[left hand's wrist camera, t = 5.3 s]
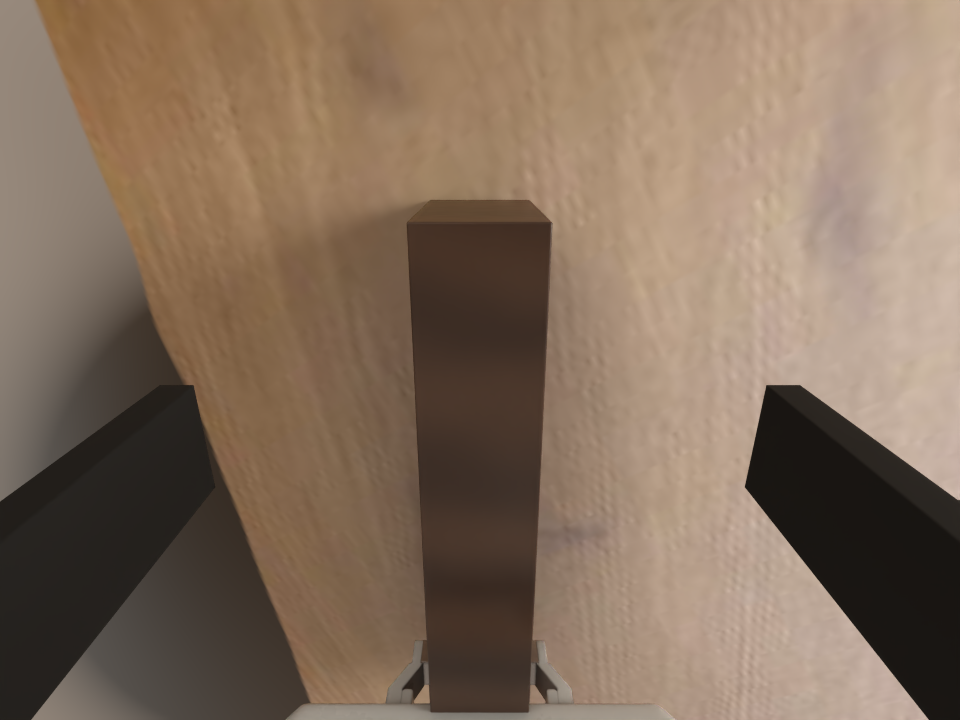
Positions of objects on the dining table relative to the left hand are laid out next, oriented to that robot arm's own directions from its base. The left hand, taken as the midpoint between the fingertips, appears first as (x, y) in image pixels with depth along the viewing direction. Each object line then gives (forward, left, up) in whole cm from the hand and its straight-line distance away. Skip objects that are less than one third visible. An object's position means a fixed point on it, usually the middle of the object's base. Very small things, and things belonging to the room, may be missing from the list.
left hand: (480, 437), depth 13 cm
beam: (+11, 0, -17) cm, 20 cm away
